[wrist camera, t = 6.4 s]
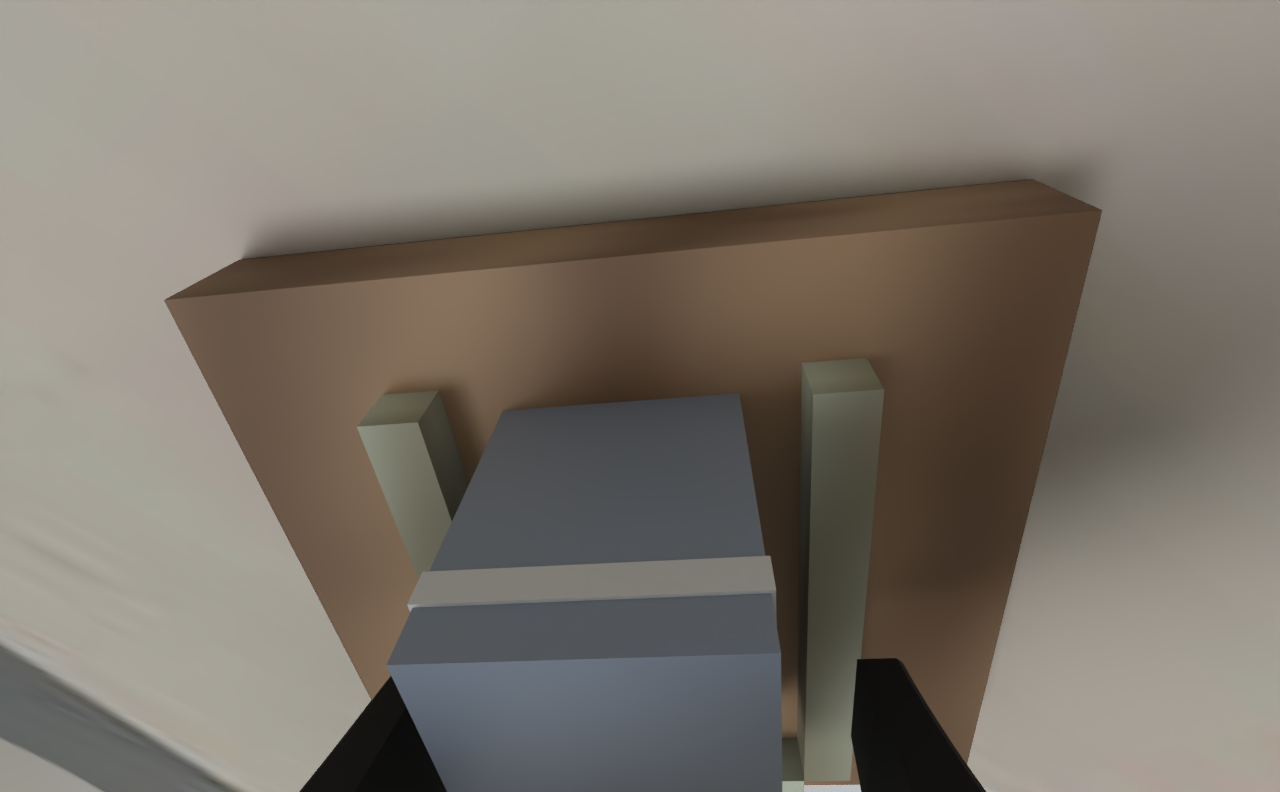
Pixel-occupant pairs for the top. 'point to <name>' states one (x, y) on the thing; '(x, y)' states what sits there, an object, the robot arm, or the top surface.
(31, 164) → the top surface
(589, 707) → the blue-grey lidded box
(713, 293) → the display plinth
